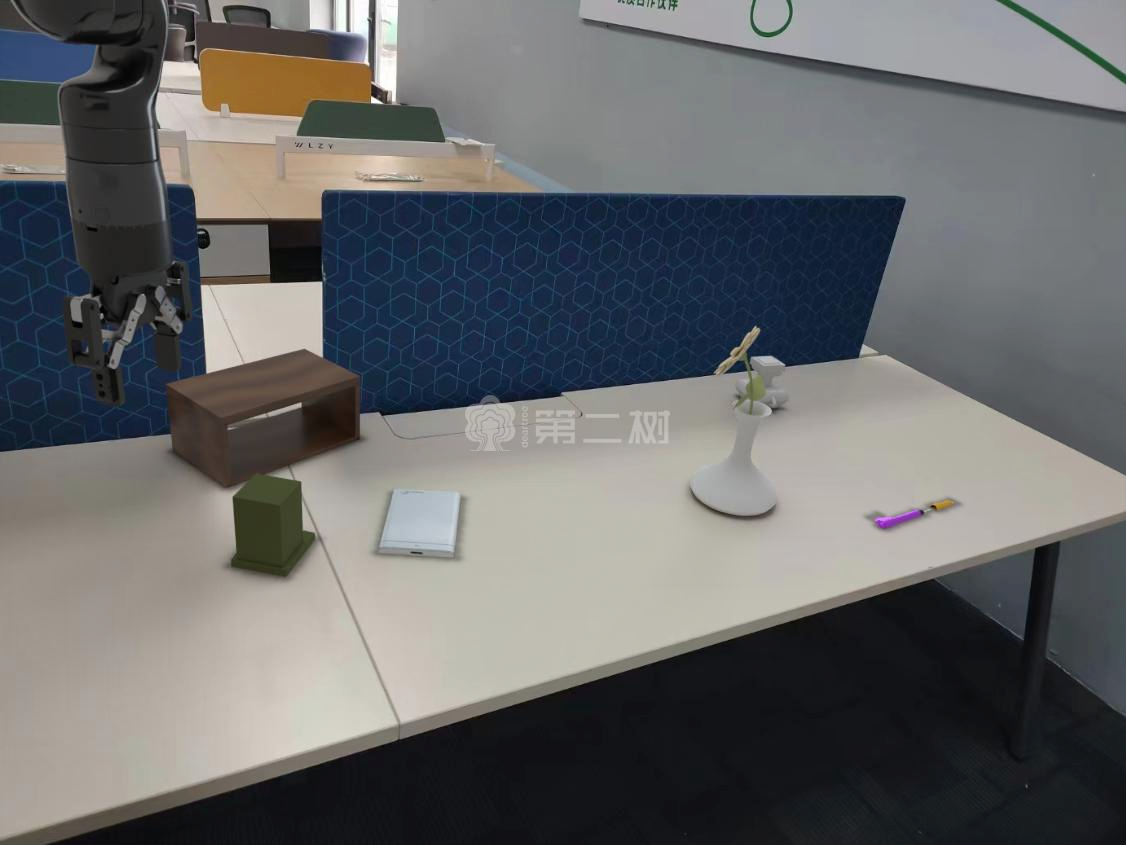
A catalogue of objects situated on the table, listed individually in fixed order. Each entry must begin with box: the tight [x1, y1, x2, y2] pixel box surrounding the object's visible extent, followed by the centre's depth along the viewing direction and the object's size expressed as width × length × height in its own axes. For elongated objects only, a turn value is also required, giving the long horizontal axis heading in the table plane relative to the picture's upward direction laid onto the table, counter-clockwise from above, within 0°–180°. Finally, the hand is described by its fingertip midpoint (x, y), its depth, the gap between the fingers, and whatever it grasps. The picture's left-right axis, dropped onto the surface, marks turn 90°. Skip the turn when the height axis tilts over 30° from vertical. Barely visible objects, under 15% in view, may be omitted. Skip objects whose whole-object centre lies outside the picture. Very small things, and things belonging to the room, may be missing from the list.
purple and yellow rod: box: [873, 499, 956, 530], centre depth 114 cm, size 3×1×16 cm
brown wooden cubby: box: [165, 348, 361, 489], centre depth 109 cm, size 12×20×10 cm, turn 141°
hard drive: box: [378, 488, 462, 559], centre depth 98 cm, size 2×8×12 cm
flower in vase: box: [689, 325, 777, 517], centre depth 106 cm, size 13×11×25 cm
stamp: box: [734, 355, 790, 409], centre depth 140 cm, size 9×7×8 cm
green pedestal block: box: [230, 473, 316, 578], centre depth 88 cm, size 7×6×9 cm
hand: (142, 386), depth 78 cm, fingers open, 8 cm apart
